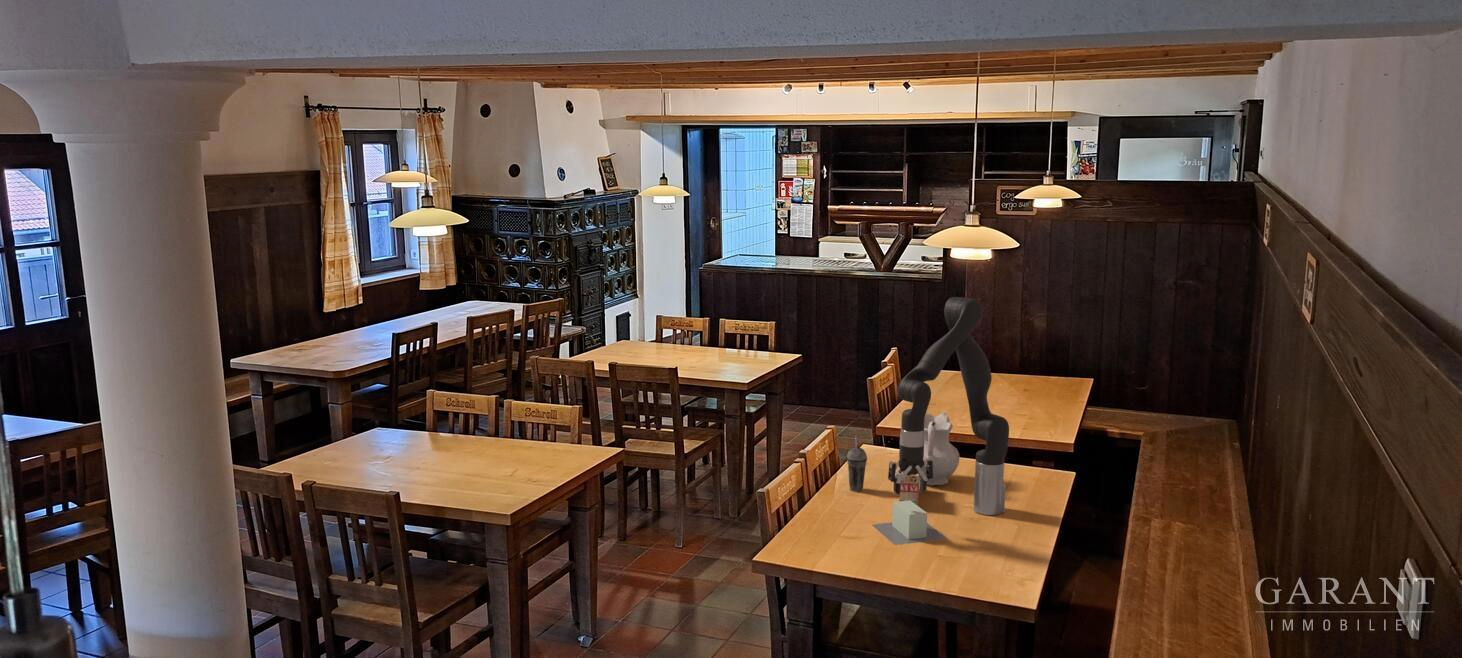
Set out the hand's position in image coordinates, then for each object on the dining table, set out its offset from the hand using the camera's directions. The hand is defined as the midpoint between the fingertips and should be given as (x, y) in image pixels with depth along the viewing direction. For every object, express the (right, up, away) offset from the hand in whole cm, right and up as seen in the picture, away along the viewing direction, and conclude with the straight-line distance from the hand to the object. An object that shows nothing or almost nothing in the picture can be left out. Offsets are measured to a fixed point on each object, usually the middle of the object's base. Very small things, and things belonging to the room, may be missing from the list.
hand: (909, 492), depth 329 cm
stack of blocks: (+6, -8, +34) cm, 35 cm away
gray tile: (0, -13, +2) cm, 13 cm away
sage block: (0, -13, +2) cm, 13 cm away
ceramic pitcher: (+17, -4, +52) cm, 55 cm away
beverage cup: (-12, -6, +43) cm, 45 cm away
